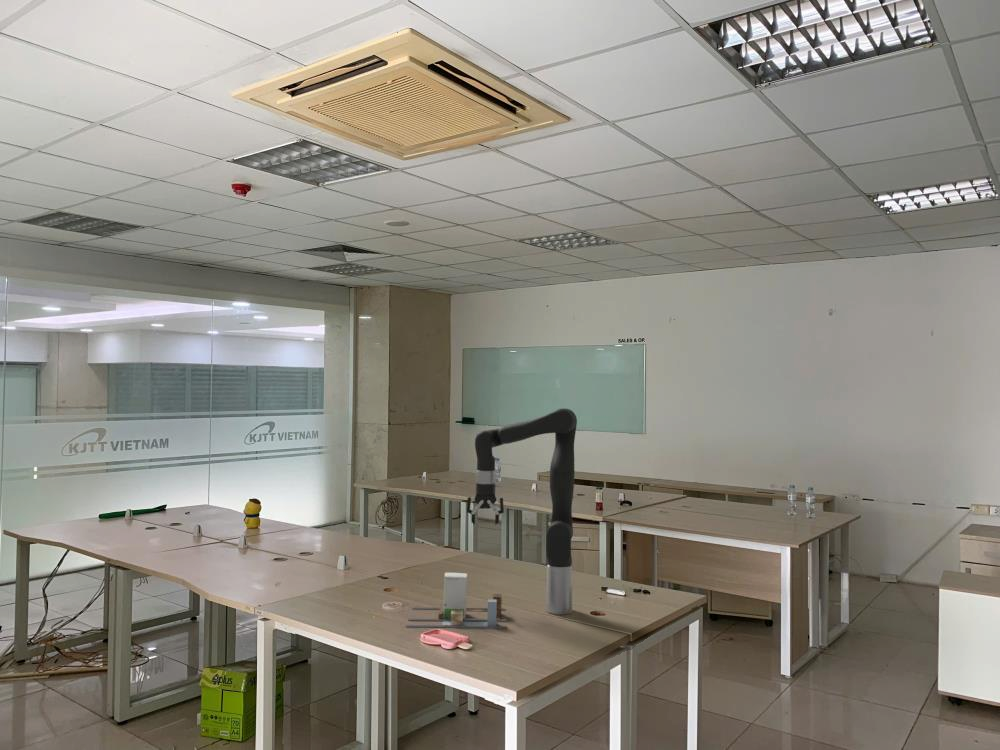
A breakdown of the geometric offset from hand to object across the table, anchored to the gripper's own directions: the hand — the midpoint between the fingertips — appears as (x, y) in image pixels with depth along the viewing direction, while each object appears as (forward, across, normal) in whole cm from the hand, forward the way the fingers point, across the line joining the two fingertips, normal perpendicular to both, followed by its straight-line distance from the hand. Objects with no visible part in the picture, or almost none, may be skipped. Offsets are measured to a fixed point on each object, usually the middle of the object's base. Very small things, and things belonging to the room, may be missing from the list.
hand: (484, 524), depth 270 cm
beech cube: (+29, +9, +29) cm, 42 cm away
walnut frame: (+30, +5, +19) cm, 36 cm away
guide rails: (+30, +9, +22) cm, 39 cm away
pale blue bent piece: (+30, +5, +29) cm, 42 cm away
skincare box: (+30, +10, +20) cm, 38 cm away
